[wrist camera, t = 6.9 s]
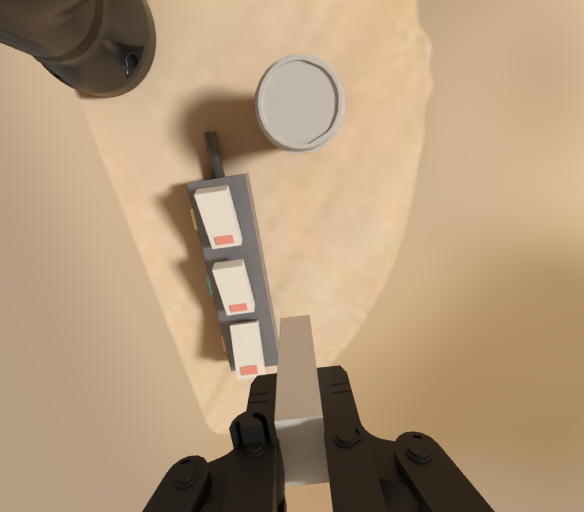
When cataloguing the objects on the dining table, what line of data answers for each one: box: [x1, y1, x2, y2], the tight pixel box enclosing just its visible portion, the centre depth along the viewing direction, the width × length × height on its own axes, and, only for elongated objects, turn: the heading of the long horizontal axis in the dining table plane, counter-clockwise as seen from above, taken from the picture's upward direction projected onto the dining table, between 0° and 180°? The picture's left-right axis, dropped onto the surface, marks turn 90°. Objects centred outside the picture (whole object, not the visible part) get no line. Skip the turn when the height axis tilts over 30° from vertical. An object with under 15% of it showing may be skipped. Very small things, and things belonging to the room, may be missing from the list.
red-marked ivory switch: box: [194, 185, 242, 249], centre depth 40 cm, size 8×4×2 cm, turn 9°
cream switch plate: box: [212, 259, 255, 316], centre depth 43 cm, size 8×4×2 cm, turn 9°
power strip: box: [187, 132, 279, 371], centre depth 46 cm, size 36×8×5 cm, turn 8°
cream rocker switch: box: [230, 320, 265, 380], centre depth 46 cm, size 8×4×2 cm, turn 8°
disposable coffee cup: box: [255, 54, 346, 154], centre depth 37 cm, size 10×10×12 cm
